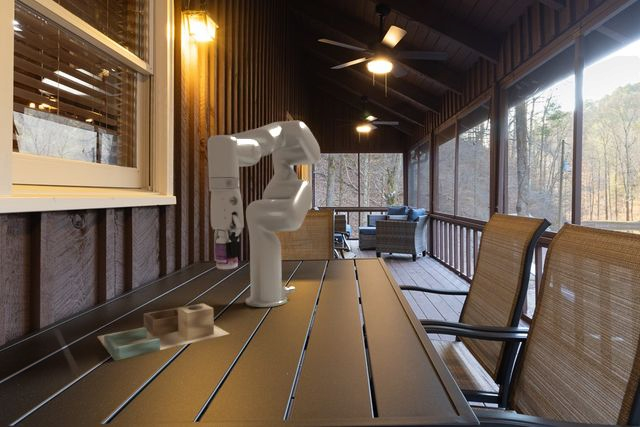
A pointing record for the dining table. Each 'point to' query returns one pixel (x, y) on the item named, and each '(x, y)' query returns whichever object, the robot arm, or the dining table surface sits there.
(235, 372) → the dining table surface
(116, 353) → the board
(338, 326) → the dining table surface
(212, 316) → the oak block
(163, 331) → the walnut ring block
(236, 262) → the pill bottle
